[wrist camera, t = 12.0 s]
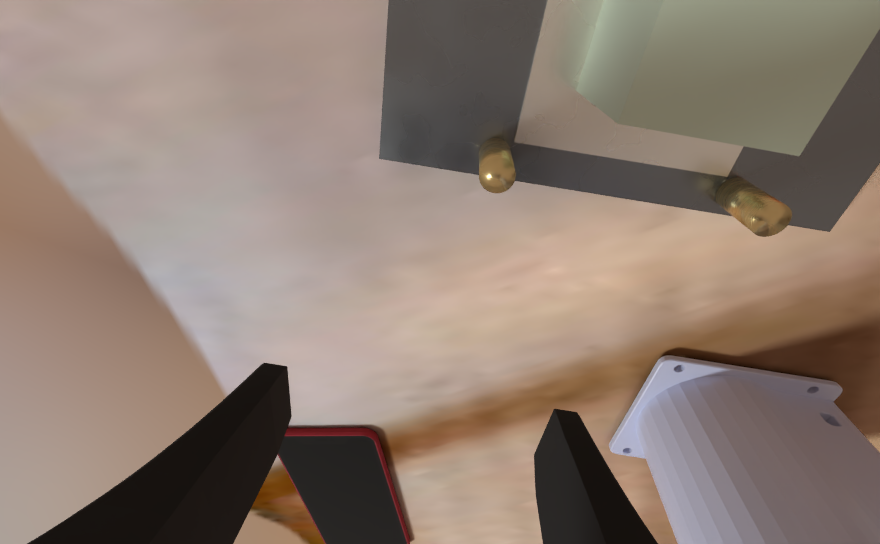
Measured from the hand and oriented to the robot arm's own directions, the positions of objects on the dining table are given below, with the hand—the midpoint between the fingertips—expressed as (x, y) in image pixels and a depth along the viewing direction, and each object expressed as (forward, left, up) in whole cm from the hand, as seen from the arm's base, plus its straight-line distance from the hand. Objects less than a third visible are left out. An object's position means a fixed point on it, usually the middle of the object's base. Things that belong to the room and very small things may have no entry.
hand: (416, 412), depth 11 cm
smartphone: (+4, +22, -10) cm, 24 cm away
